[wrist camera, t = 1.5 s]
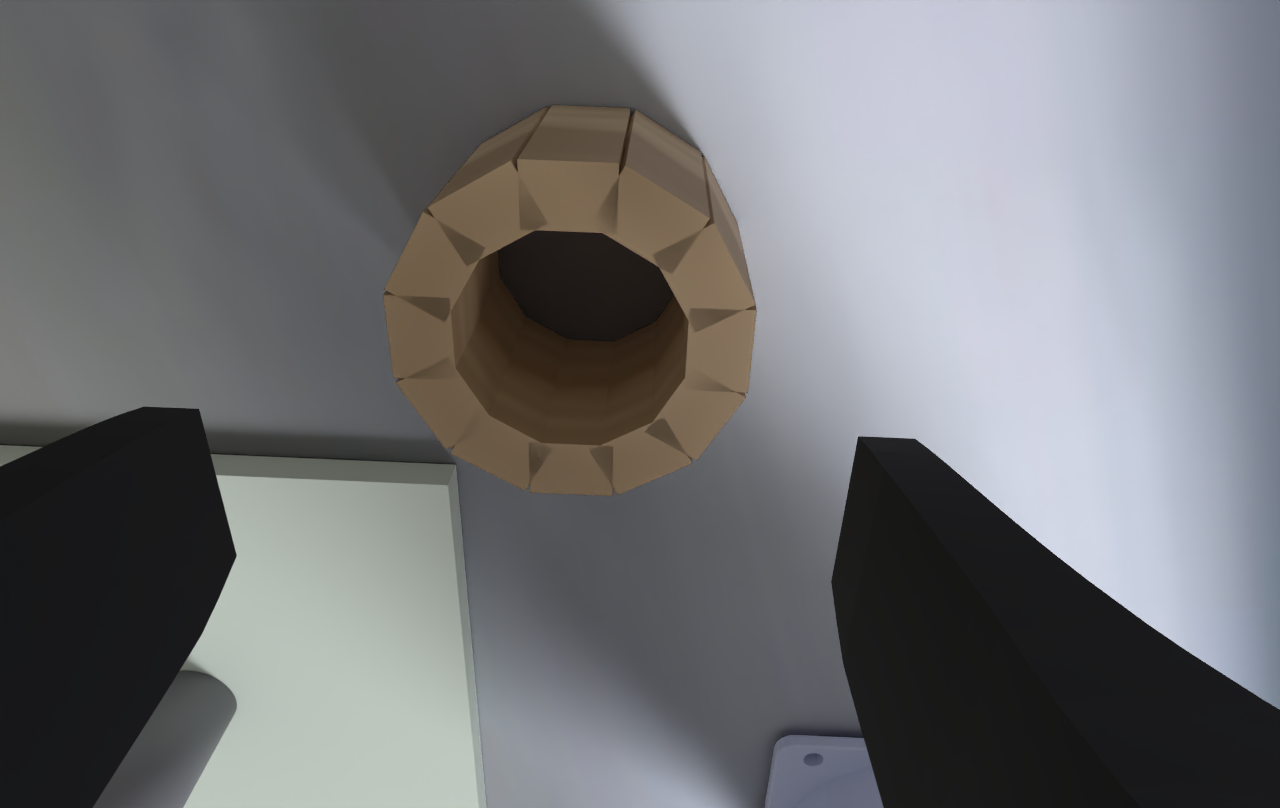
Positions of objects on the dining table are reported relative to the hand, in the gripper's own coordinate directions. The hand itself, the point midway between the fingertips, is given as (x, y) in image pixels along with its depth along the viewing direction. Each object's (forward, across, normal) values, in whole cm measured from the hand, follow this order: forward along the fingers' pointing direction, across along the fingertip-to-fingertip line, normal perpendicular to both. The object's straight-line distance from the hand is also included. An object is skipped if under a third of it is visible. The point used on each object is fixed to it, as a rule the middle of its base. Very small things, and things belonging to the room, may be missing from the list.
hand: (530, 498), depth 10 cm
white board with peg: (+8, +10, +12) cm, 18 cm away
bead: (+8, 0, 0) cm, 8 cm away
